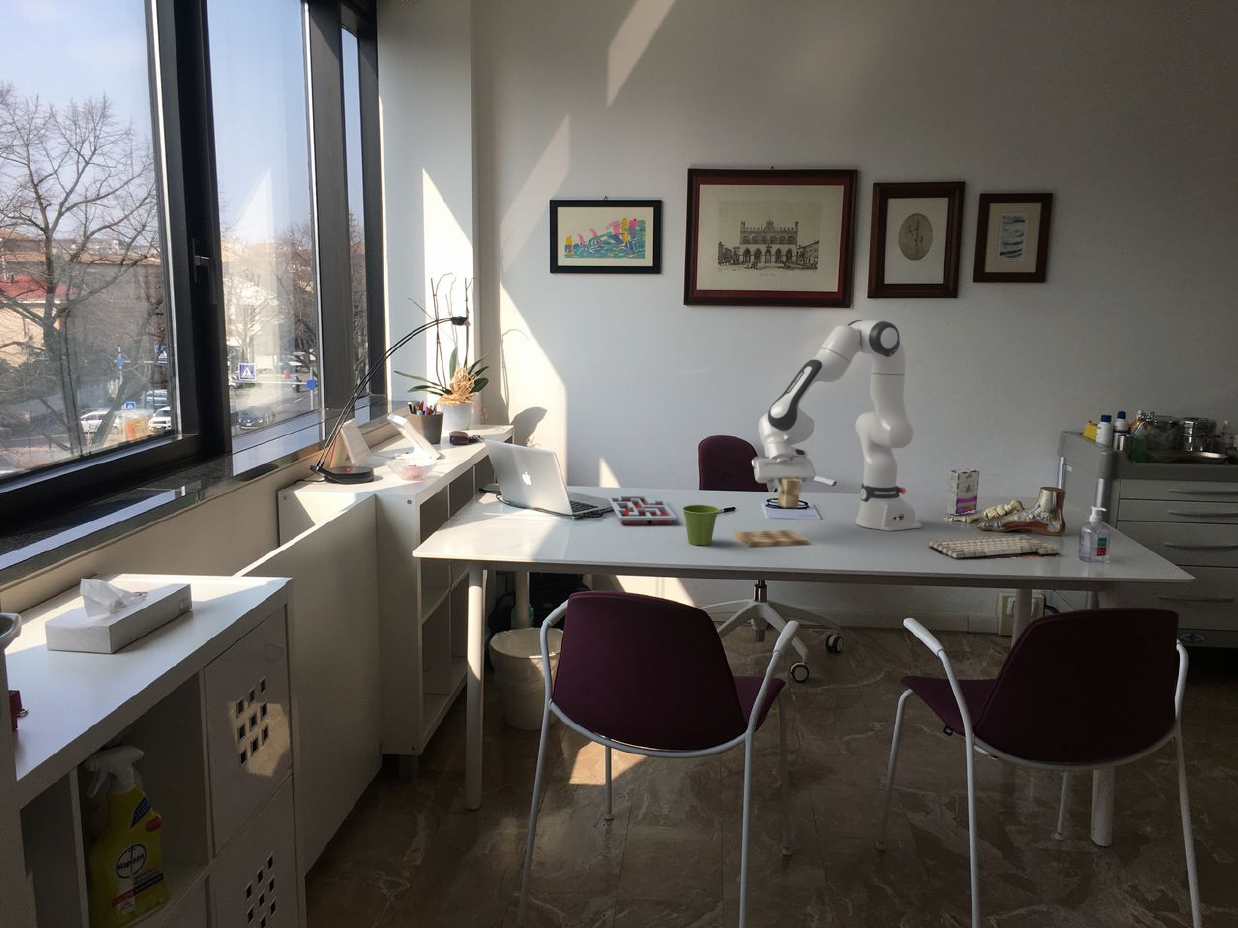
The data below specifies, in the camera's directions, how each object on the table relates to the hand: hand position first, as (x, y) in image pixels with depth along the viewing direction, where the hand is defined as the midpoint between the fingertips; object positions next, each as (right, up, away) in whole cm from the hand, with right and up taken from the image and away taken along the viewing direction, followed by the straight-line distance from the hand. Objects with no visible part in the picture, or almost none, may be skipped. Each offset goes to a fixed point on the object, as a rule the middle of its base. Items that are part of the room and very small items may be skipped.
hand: (790, 492), depth 311 cm
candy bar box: (+72, -9, +48) cm, 87 cm away
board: (-6, -16, +2) cm, 17 cm away
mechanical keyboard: (+64, -19, -4) cm, 67 cm away
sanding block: (0, -5, +2) cm, 5 cm away
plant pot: (-30, -16, -3) cm, 34 cm away
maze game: (-47, -9, +34) cm, 59 cm away
